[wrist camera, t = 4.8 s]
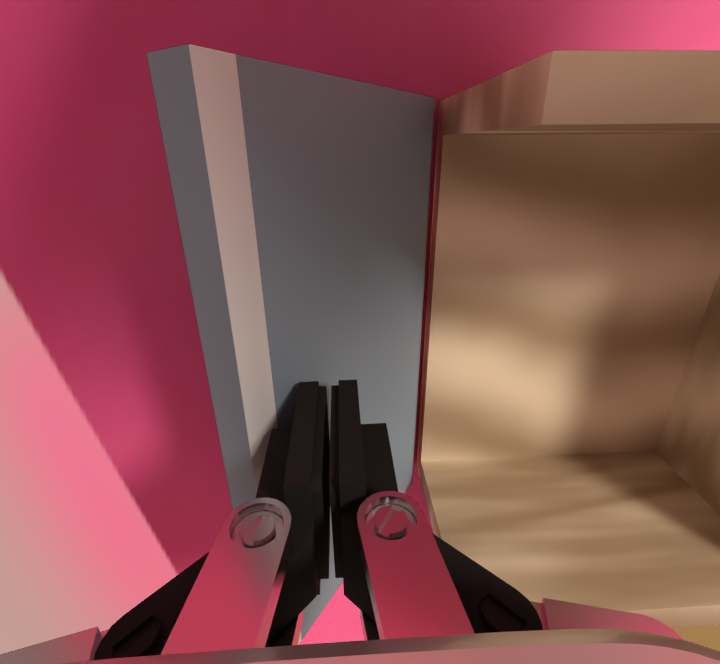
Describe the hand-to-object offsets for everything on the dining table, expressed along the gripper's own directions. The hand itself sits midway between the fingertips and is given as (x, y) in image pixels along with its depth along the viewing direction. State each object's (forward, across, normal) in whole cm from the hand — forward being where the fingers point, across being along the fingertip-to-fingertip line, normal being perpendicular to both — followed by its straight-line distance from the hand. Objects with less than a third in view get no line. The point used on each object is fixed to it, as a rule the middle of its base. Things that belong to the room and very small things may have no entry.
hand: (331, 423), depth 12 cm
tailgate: (+7, -3, 0) cm, 8 cm away
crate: (+8, -11, 0) cm, 14 cm away
